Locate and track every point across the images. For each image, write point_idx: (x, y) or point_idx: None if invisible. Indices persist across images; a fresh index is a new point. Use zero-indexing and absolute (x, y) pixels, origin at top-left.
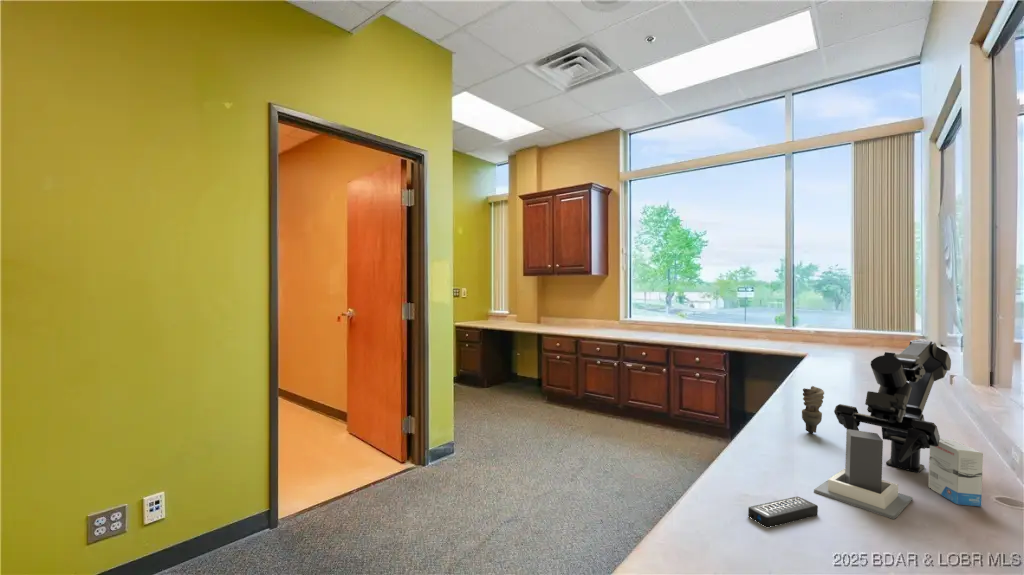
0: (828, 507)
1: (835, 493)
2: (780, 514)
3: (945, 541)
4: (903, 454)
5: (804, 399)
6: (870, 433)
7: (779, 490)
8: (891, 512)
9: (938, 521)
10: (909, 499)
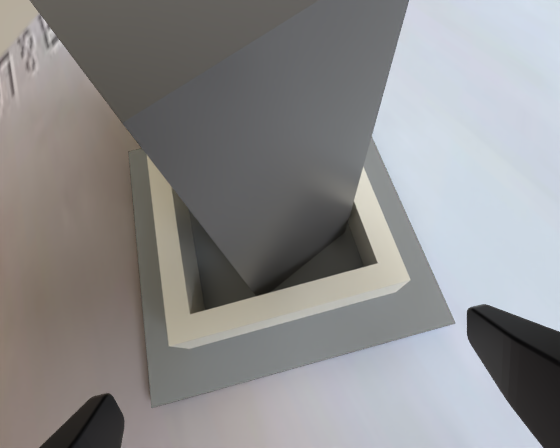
0: None
1: None
2: None
3: (12, 163)
4: (47, 441)
5: None
6: (172, 33)
7: None
8: (143, 169)
9: (45, 282)
10: (149, 361)
